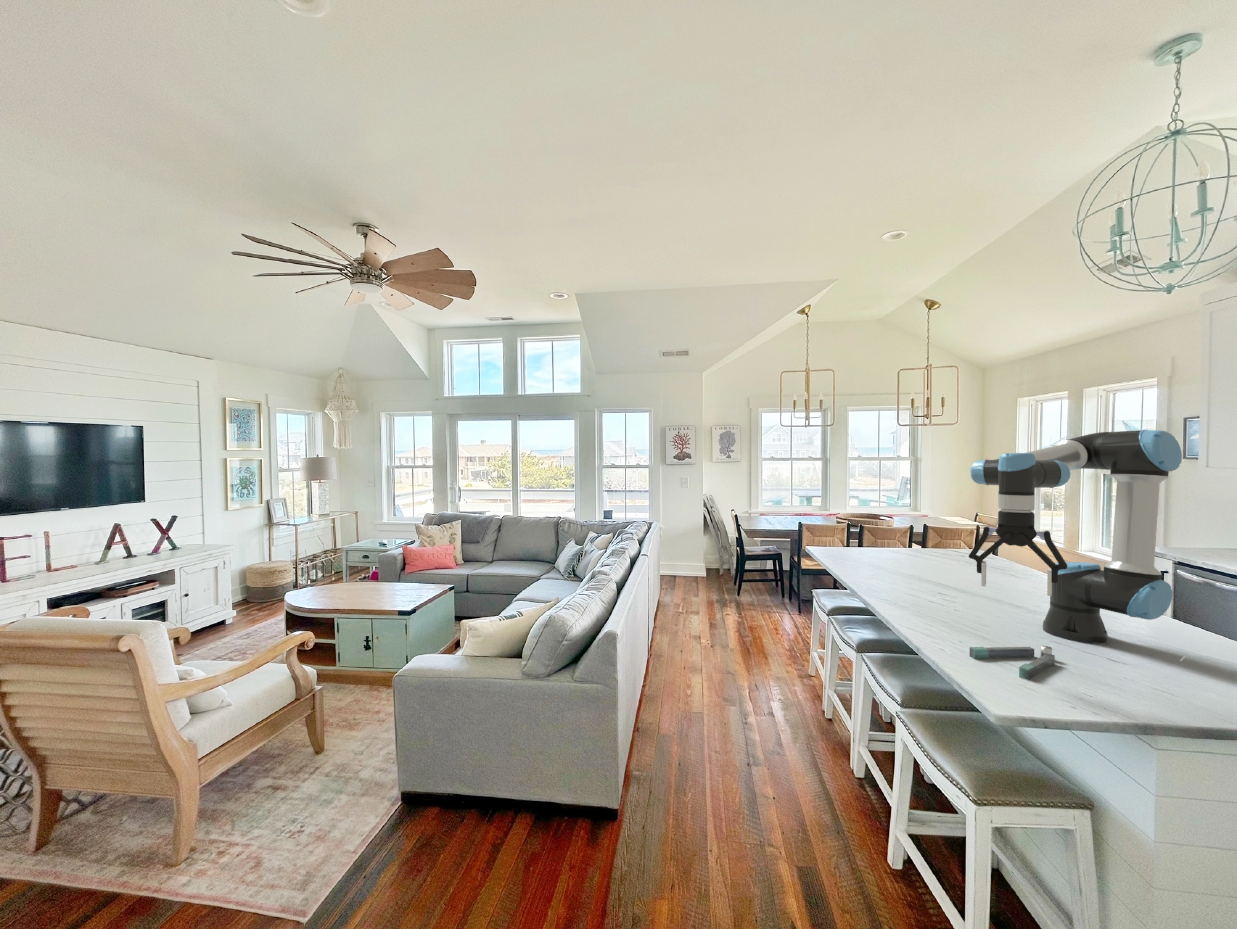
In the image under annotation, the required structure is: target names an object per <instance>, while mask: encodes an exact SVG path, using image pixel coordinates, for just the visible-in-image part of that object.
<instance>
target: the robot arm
mask: <svg viewBox="0 0 1237 929" xmlns="http://www.w3.org/2000/svg"><path fill="white" fill-rule="evenodd" d="M1182 458H1183V454H1182V448H1181V445H1180V443H1179V442H1178V439H1176V437H1175V436H1174V435H1173V434H1172V433H1170V432H1168V431H1165V430H1161V429H1160V430H1159V429H1157V430H1155V429H1142V430H1140V429H1139V430H1123V431H1121V430H1120V431H1102V432H1101V431H1100V432H1093V433H1088V434H1085V435H1080V436H1076V437H1072V438H1068V439H1065V440H1061V441H1058V442H1057V443H1055V445H1053V446H1048V447H1044V448H1039V449H1035V450H1031V451H1027V452H1004V453H1001V454H1000V455H999V457H998V458H996V459H987V458H985V459H981V460H976V461H975V462H973V463H972V465H971V467H970V477H971V479H972V481H973V482H974V483H976V484H978V485H983V486H984V485H985V486H998V494H997V497H998V498H997V499H998V500H997V507H998V509H999V511H998V512H997V527H991V526H989V525H986V526H984V527H983V529H982V530H983V531H982V535H981V536H980V537H979V539H978V541H977V543H976V544H975V545H974V547H973V549H972V550H971V552H969V555H968V558H969V559H972V560H974V561H975V563H976V573H977V574H981V577H980V578H981V579H980V580H981V582H980V583H981V584H980V585H981V587H983V588H984V587H986V586H987V561H986V560H985V559H986V558H987V557H989V555H991V554H992V553H993V552H994V551H996V550H997V549H998V548H999V547H1000V546H1002V545H1004V544H1006V545H1007V546H1017V547H1022V548H1023V547H1026V546H1028V548H1029V549H1031V551H1033V552H1034V553H1035V554H1036V555H1037V556H1038V557H1039V558H1040V559H1041V561H1043V562H1044V563H1045V564H1046V565H1047V566H1048V567H1049V568H1047V583H1046V584H1047V591H1046V592H1047V593H1046V595H1047V596H1048V597H1049V608H1048V610H1047V613H1046V615H1045V618H1044V620H1043V621H1042V630H1043V631H1044V632H1045V633H1047V634H1049V635H1051V636H1054V637H1058V638H1060V639H1063V640H1067V641H1068V640H1069V641H1074V642H1080V643H1086V644H1088V643H1089V644H1104V643H1107V642H1108V641H1109V639H1108V638H1109V634H1108V631H1107V629H1106V627H1105V624H1104V622H1103V619H1102V616H1101V610H1105V611H1108V612H1113V613H1116V614H1117V613H1118V614H1121V615H1125V616H1129V617H1130V618H1138V619H1143V620H1148V621H1150V620H1155V619H1156V620H1157V619H1158V618H1160V617H1162V616H1164V614H1165V613H1166V612H1167V611H1168V609H1169V607H1170V605H1171V603H1172V600H1173V589H1172V586H1171V584H1170V583H1169V582H1167V581H1165V580H1164V579H1162V572H1161V571H1160V570H1158V569H1157V568H1156V567H1155V562H1156V559H1155V556H1156V547H1157V546H1156V543H1157V531H1158V530H1157V528H1158V516H1159V515H1158V514H1159V513H1158V512H1159V499H1160V488H1161V487H1160V485H1161V483H1162V482H1164V481H1165V480H1167V479H1168V478H1169V472H1173V471H1176V470H1177V469H1179V468H1180V464H1182V460H1183V459H1182ZM1078 469H1079V470H1081V469H1082V470H1083V469H1084V470H1085V469H1086V470H1087V469H1088V470H1106V471H1107V470H1108V471H1109V472H1110V474H1109V475H1110V477H1112V478H1113V480H1115V481H1116V490H1115V501H1114V502H1115V504H1114V519H1113V534H1112V550H1111V560H1110V561H1109V562H1108V563H1106V564H1104V565H1103V569H1102V567H1101V565H1100V564H1099V563H1095V562H1081V561H1066V560H1065V559H1064V557H1063V556H1062V555H1061V552H1060V551H1059V549H1058V547H1057V546H1056V545H1055V543H1054V541H1053V539H1052V534H1051V531H1050V530H1044V531H1043V530H1041V531H1037V530H1036V528H1035V523H1036V522H1035V516H1036V515H1035V513H1034V512H1033V511H1034V510H1035V509H1036V508H1035V503H1036V502H1035V500H1036V498H1035V496H1036V495H1035V490H1036V489H1040V488H1042V489H1044V488H1047V489H1048V488H1050V489H1053V488H1059V487H1062V486H1064V485H1066V483H1068V481H1069V480H1070V479H1071V471H1074V470H1078ZM994 533H996V535H997V536H998V538H999V539H998V540H997V541H996V542H994V543H993V544H991V546H990V547H988V548H987V549H986V550H985V551H984V552H983V553H981V554H979V555H978V553H979V551H980V549H981V548H982V546H983V545H984V544H985V542H986V541H987V539H988V538H989V536H992V535H993V534H994ZM1036 537H1040V539H1041V540H1042V541H1044V542H1045V545H1046V546H1047V547H1048V549H1049V551H1050V552H1051V554H1052V555H1053V557H1054V558H1055V560H1056V562H1054V561H1053V560H1052V559H1051V557H1049V556H1048V555H1047V554H1046V553H1045V552H1044V551H1043V550H1042V549H1041V548H1040V547H1039V546H1038V545H1037V543H1035V542H1034V539H1035V538H1036Z"/></svg>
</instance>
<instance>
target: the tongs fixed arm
mask: <svg viewBox="0 0 1237 929" xmlns="http://www.w3.org/2000/svg"><path fill="white" fill-rule="evenodd" d="M1047 653H1048V654H1051V655H1053V647H1051V646H1046V645H1041V646H1040V657H1042V656H1043V655H1045V654H1047ZM969 657H970V658H972V659H974V660H987V659H1016V658H1017V659H1018V658H1019V659H1020V658H1021V659H1024V658H1028V659H1029V658H1035V648H1034V647H1031V646H1005V647H1004V646H1001V647H1000V646H996V647H992V646H991V647H984V646H969Z"/></svg>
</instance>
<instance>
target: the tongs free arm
mask: <svg viewBox="0 0 1237 929" xmlns="http://www.w3.org/2000/svg"><path fill="white" fill-rule="evenodd" d="M1055 656H1056V655H1055V654H1052V655H1051V654H1048V653H1047V654H1045V655H1043V656H1042V657H1041V656H1040V657H1038V658H1037V659H1034V660H1032V661H1031V662H1029V663H1024V664H1022V665H1021V666H1019V668H1018V677H1019V678H1021V679H1024V680H1031V679H1032V678H1034V677H1035V676H1037V675H1038V674H1040V673H1043V671H1045V670H1047V669H1049V668H1051V667H1052V666H1054V665H1055V661H1056V657H1055Z"/></svg>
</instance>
